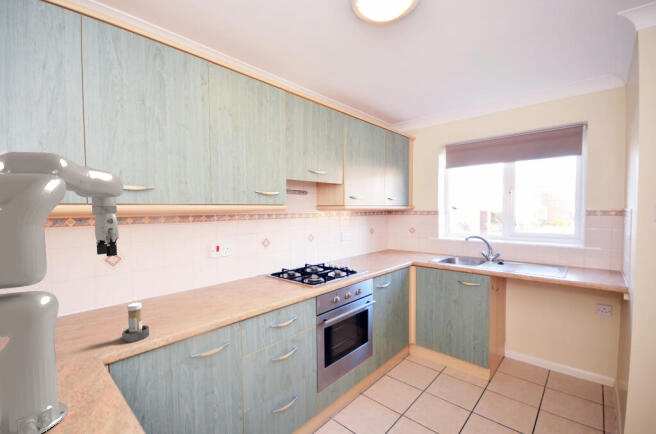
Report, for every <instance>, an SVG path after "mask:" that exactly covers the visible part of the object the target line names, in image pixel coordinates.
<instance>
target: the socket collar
mask: <svg viewBox="0 0 656 434" xmlns="http://www.w3.org/2000/svg"><path fill="white" fill-rule="evenodd" d="M121 337H122V339H121V342H123V343H125V344H126V343H128V344H129V343H130V344H131V343H136V342H140V341H142V340H146V339H147V338H149V337H150V326H148V325H147V324H146V325H145V324H144V325H143V324H142V331H141V332H138V333H134V334H129V327H128V328H125V330H123V331H122V333H121Z"/></svg>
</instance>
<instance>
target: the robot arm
mask: <svg viewBox="0 0 656 434" xmlns="http://www.w3.org/2000/svg"><path fill="white" fill-rule="evenodd" d="M124 187H125V186H124V183H123V181H122V179H121V178H120V177H119V176H118V175H116V174H115V173H112V172H109V171H106V170H101V169H97V168H92V167H88V166H82V165H79V164H78V163H75V161H72V160H71V159H68V158H66V157H65V156H62V155H60V154H58V153H53V152H36V151H35V152H32V151H8V152H5V153H3V154H0V290H3V289H5V290H6V289H16V288H23V287H30V286H32V285H37V284H39V283H41V282H42V281H43V280H44V278H45V277H46V274H47V269H48V263H47V262H48V261H47V248H46V247H47V246H46V245H47V244H46V234H45V233H46V232H45V230H46V223H47V220H48V219H49V216H50V215H51V214H52V212H53V211H54V210H55V208H56V207H57V206H58V205H59V204H60V203H61V202H62V201H63V200H64V198H65V196H66V192H67V191H68V192H73V193H75V194H76V195H77V196H78V197H81V198H91V215H92V216H94V236H95V239H96V255H98V256H99V255H106V257H116V256H117V255H118V248H117V240H119V238H120V237H119V236H120V235H119V227H118V226H119V225H118V224H119V223H118V218H117V216H116V215H117V214H118V210H117V208H118V207H117V198H119V197H120V196H121V195H122V194H123V193H124V190H125V189H124ZM59 305H60V304H59V300H58V298H57V296H56V295H55V294H54V293H52V292H49V291H43V290H30V291H29V290H26V291H16V292H6V293H0V338H6V337H7V338H9V339H8V342H7V343H6V344H4V346H3V347H2V349H0V434H41V433H43V432H45V431H46V432H47V430H48V429H50V428H51V427H53V426H54V425H56V424H57V423H58V424H59V423H61V422H62V421H63V419H65V417H66V416H67V415H68V411H69V410H68V405H67V404H66V403H65V402H59V401H60V400H59V386H58V385H59V384H58V369H57V368H58V367H57V366H58V365H57V353H56V328H57V327H56V325H57V319H58V314H59V308H60V306H59ZM66 414H67V415H66ZM61 420H62V421H61ZM60 421H61V422H60ZM58 424H57V425H58ZM57 425H56V426H57ZM54 427H55V426H54ZM54 427H53V428H54ZM51 429H52V428H51ZM51 429H50V430H51ZM48 431H49V430H48ZM46 432H45V433H46ZM43 434H44V433H43Z"/></svg>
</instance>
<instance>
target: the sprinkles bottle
mask: <svg viewBox="0 0 656 434" xmlns="http://www.w3.org/2000/svg"><path fill="white" fill-rule="evenodd" d="M126 308H127V315H128V316H127V318H128V319H127V320H128V328H129V334H134V333H138V332H141V331H142V325H143V320H142V319H143V318H142V302H133V303H130V304H128V305H127V307H126Z"/></svg>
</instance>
